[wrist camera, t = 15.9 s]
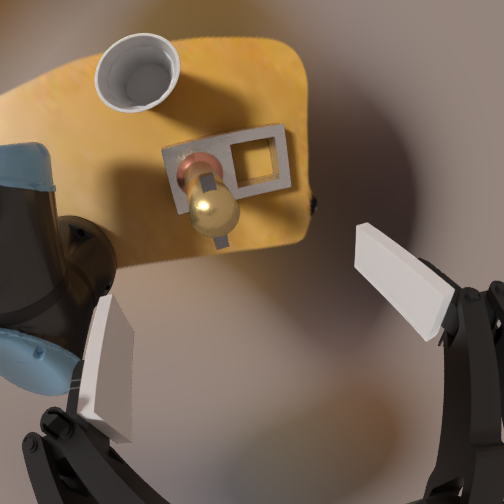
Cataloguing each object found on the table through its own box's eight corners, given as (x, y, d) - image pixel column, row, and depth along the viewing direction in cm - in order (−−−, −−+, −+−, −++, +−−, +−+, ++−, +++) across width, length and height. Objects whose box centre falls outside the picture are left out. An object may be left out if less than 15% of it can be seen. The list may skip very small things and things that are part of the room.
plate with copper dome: (177, 207, 38) (178, 215, 35) (162, 147, 33) (161, 150, 30) (283, 181, 40) (291, 187, 38) (275, 123, 36) (284, 124, 33)
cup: (189, 92, 31) (196, 81, 20) (137, 125, 31) (120, 130, 21) (161, 47, 26) (156, 18, 16) (109, 80, 26) (81, 67, 16)
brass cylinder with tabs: (178, 156, 31) (181, 183, 20) (210, 148, 32) (232, 170, 20) (190, 203, 35) (200, 255, 23) (219, 195, 35) (246, 242, 24)
